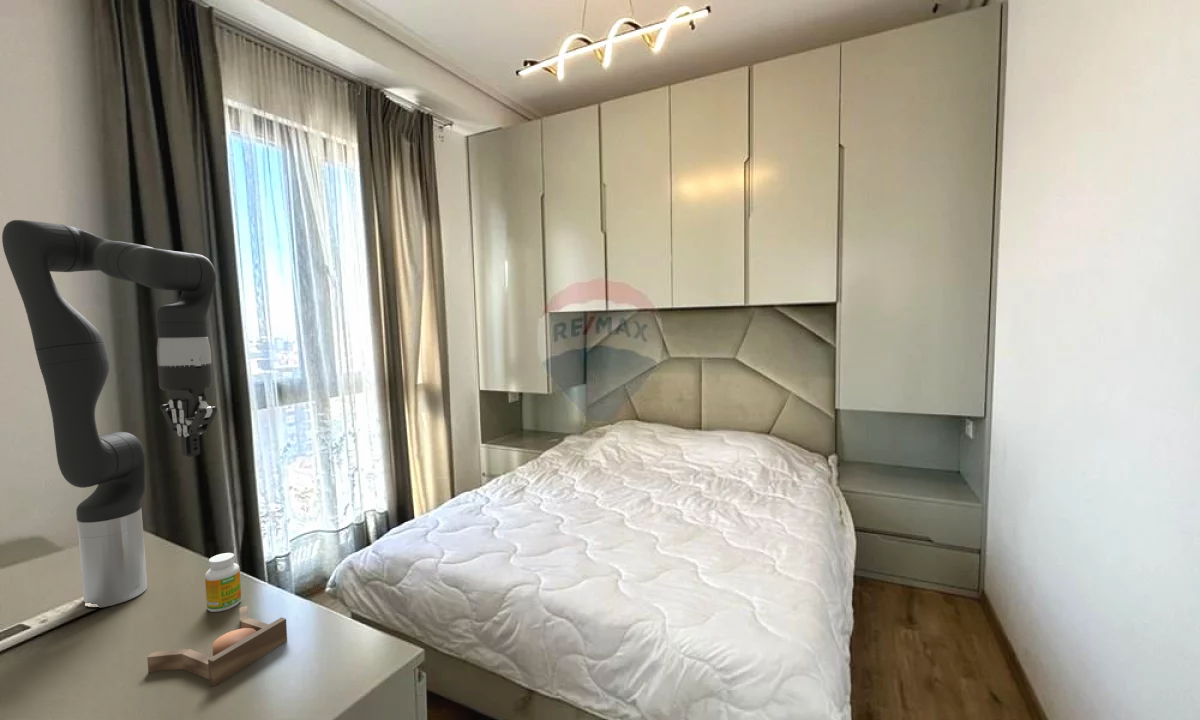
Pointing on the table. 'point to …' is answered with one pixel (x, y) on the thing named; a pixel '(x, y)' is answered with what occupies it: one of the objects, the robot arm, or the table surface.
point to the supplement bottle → (222, 583)
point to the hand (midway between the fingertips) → (191, 455)
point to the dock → (224, 652)
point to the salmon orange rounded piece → (231, 639)
